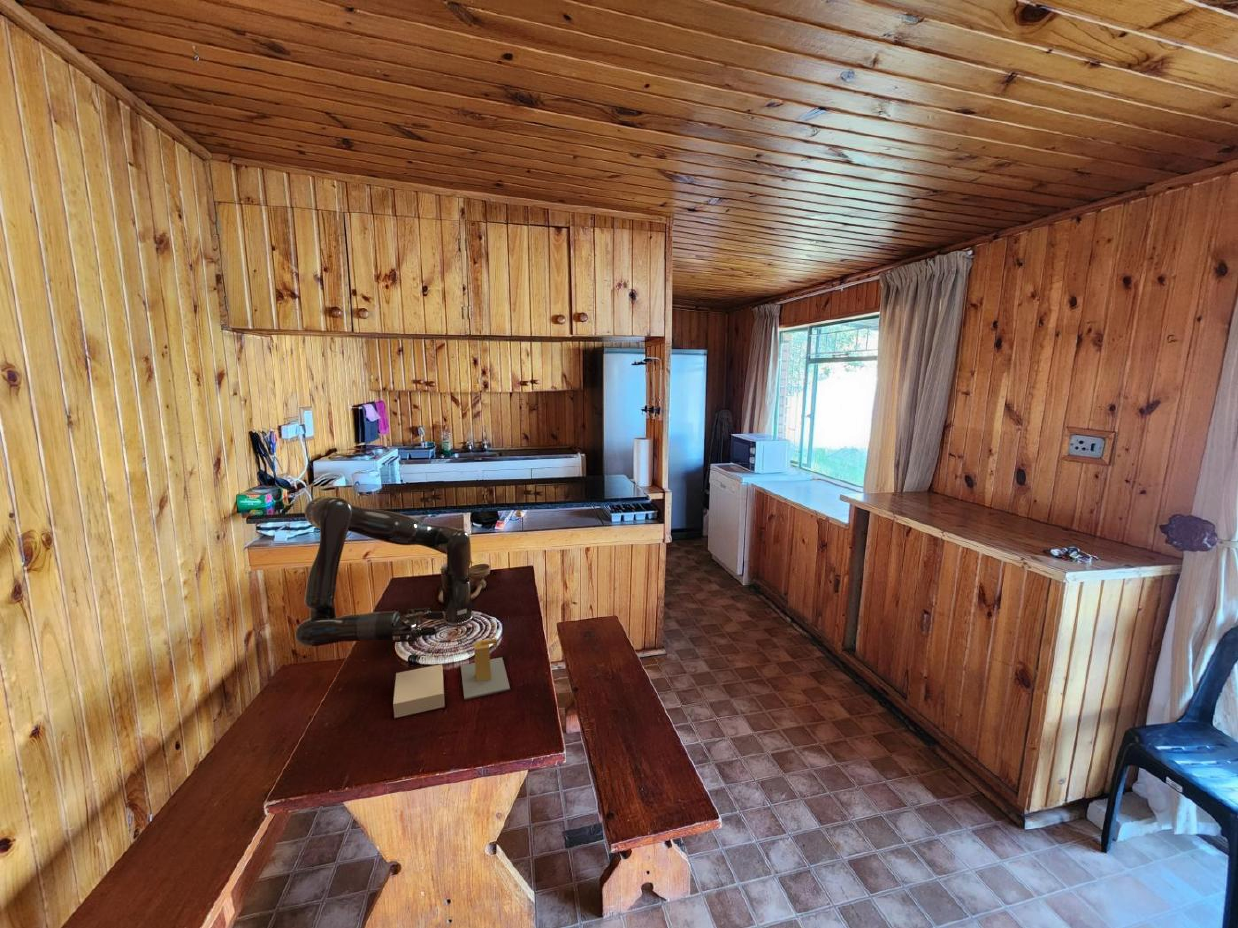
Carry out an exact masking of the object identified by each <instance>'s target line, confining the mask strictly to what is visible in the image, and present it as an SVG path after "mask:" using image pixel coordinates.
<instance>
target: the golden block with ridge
mask: <svg viewBox="0 0 1238 928" xmlns="http://www.w3.org/2000/svg"><path fill="white" fill-rule="evenodd" d="M490 645H493V649H496V648H498V639H497V637H494V638H489V639H481V640H479V641H473V651H474V653H473V654H474V663H475V668H476V682H479V681H485V680H491V668H490V660H491V654H490Z"/></svg>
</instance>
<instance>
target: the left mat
mask: <svg viewBox="0 0 1238 928" xmlns="http://www.w3.org/2000/svg"><path fill="white" fill-rule="evenodd" d="M490 668H491V680H485V681H479V682H476V668H475V662H470V663H466V664H461V665H460V673H461V683H462V689H463V690H462V691H463V700H464V701H466V700H470V699H475V698H479V697H484V696H489V695H494V694H499V693H503V692H507V691H510V690H511V687H510V683H509V679H508V676H507V675H508V674H507V671H506V667H505V662H504V659H503V657H496V658H492V659H491V658H490Z"/></svg>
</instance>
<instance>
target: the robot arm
mask: <svg viewBox="0 0 1238 928" xmlns="http://www.w3.org/2000/svg"><path fill="white" fill-rule="evenodd" d="M304 517H305V519H306V521H307V522H308V523H309V524H310V525H311V526H312V527H314V528H316V529H319V535H320V536H319V538H320V539H319V546H318V550H317V552H316V555H315V558H314V560H313V562H312V564H311V567H310V569H309V572H308V573H307V579H306V585H305V593H304V605H305V607H306V608H308V609H309V618H308V619H305V620H304V621H302V622H301V623H300V624H298V626H297V627H296V629H295V633H294V637H295V640H296V642H297V643H298V644H299V645H301V646H304V647H320V646H326V645H332V644H336V643H343V642H380V641H393V643H414V642H417V641H418V639H420V638H422V637H428V636H436V635H437V627H436V626H421V625H423V624H424V623H425V622H427V621H437V620H439V621H440V620H444V624H445V625H446V626H450V627H457V626H459V627H460V626H463V625H466V624H468V623H470V622H471V621H472V620H473V610H472V609H473V608H472V607H473V606H472V599H471V595H472V593H471V591H472V590H471V578H470V577H469V568H470V567H471V563H472V544H471V538H470V536H469V534H468V532H466V531H465V530H463V529H459V528H457V527H454V526H445V525H438V524H431V523H427V522H424V521H421V520H419V519H418V518H415V517H413V516H409V515H405V514H402V513H398V512H393V511H389V510H383V509H374V508H364V507H360V506H355V505H353V504H351V503H350V502H349V501H348V500H346V499H344V498H342V497H337V496H333V495H322V496H318V497H315V498H313V499H311V500H310V501H309V502H308V503H306V506H305V508H304ZM349 532H351V533H355V534H358V535H361V536H364V537H367V538H370V539H372V540H373V539H374V540H377V541H379V542H384V543H388V544H393V545H399V546H422V547H426V548H429V549H432V550H435V551H437V552H439V553H441V554H444V555H446V563H444V564H443V565H442V566H441V567H440V569H439V571H440V578H441V587H439V590H438V595H439V594H440V593H441V591H442V592H443V597H442V598H443V603H442V605H443V610H437V611H435V610H434V611H431V610H430V609H431V608H430V607H416V608H415V607H414V608H408V609H407V614H404V615H401V614H400V612H399V611H397V610H389V611H371V612H366V613H355V614H346V615H345V614H344V615H341V616H338V617H337V615H336V605H335V598H336V597H335V596H336V590H337V582H338V581H337V580H338V574H339V567H340V562H341V558H342V554H343V551H344V546H345V543H346V539H347V536H348V533H349ZM468 619H470V620H468ZM467 620H468V621H467ZM464 621H466V622H464ZM462 622H463V623H462ZM458 623H459V624H458ZM419 626H421V627H419Z"/></svg>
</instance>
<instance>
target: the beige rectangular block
mask: <svg viewBox="0 0 1238 928" xmlns="http://www.w3.org/2000/svg"><path fill="white" fill-rule="evenodd" d="M444 684H445V683H444V670H443V664H442V663H441V664H436V665H430V666H426V667H420V668H415V669H410V670H404V671H400V672H396V673H395V682H394V690H393V702H392V708H393V716H394V719H396V718H401V717H405V716H410V715H414V714H419V713H424V712H428V711H433V710H437V709H441V708H445V706H446V705H445V688H444Z"/></svg>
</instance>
